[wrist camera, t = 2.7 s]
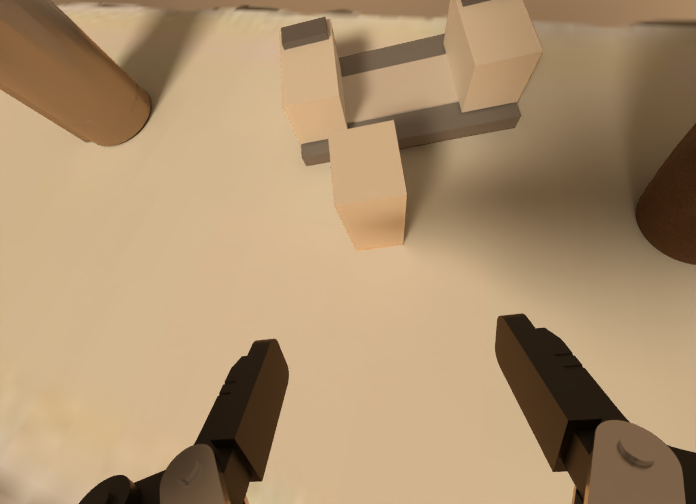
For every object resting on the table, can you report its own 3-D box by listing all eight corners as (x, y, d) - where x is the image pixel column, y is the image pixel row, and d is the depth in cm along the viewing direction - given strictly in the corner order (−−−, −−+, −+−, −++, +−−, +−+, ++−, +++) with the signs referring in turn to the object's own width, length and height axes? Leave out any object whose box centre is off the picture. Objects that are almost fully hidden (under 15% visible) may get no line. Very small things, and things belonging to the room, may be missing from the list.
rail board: (306, 166, 30) (279, 116, 24) (300, 79, 34) (276, 13, 27) (514, 127, 28) (553, 58, 21) (485, 37, 31) (509, -47, 24)
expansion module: (356, 251, 27) (334, 205, 18) (350, 197, 29) (327, 129, 19) (403, 244, 26) (406, 194, 17) (394, 190, 28) (393, 116, 19)
